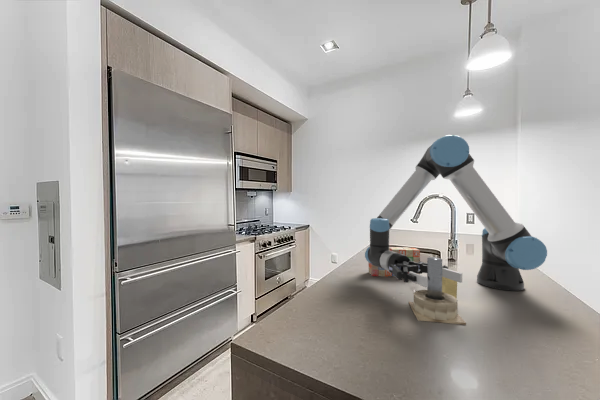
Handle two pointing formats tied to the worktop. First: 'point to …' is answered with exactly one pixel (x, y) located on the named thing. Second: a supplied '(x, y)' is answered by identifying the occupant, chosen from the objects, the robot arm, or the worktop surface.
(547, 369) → the worktop surface
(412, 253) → the stack of blocks
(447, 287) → the square bit
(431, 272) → the cylinder
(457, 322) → the socket block
